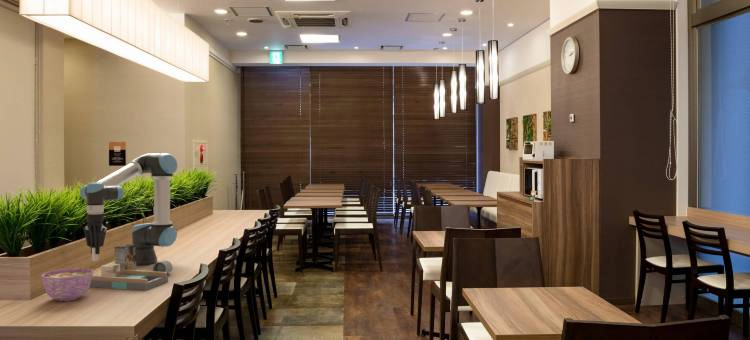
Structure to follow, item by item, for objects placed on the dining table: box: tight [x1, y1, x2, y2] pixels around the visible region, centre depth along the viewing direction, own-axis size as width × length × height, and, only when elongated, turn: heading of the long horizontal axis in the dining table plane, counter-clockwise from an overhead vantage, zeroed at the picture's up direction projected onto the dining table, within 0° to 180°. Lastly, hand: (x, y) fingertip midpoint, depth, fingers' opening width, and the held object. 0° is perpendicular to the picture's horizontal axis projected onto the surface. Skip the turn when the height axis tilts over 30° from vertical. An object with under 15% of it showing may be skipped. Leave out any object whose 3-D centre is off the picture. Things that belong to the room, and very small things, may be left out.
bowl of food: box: [41, 267, 94, 302], centre depth 233 cm, size 20×20×12 cm
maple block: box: [100, 263, 120, 277], centre depth 262 cm, size 6×6×6 cm
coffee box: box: [114, 243, 137, 270], centre depth 277 cm, size 9×6×16 cm
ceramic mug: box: [152, 260, 173, 275], centre depth 280 cm, size 11×8×8 cm
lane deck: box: [89, 269, 169, 291], centre depth 260 cm, size 18×32×5 cm, turn 77°
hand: (95, 260), depth 263 cm, fingers closed
